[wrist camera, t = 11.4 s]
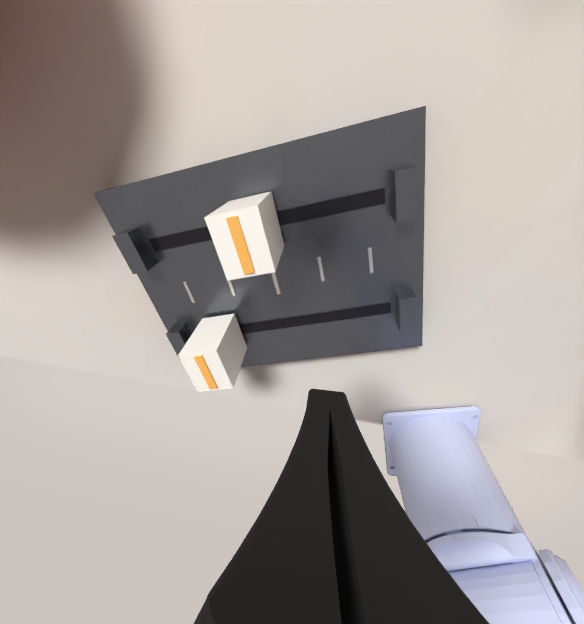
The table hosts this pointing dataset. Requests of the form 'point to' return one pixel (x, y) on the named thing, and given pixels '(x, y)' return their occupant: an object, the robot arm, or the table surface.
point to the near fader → (247, 236)
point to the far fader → (214, 353)
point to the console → (292, 242)
